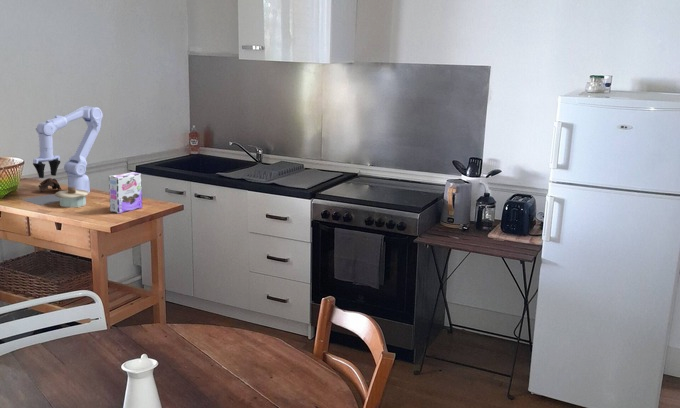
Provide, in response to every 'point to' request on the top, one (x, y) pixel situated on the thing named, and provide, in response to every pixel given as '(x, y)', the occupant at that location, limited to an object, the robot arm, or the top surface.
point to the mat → (43, 199)
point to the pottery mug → (49, 184)
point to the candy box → (125, 192)
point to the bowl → (73, 202)
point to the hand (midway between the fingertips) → (47, 176)
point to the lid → (71, 193)
